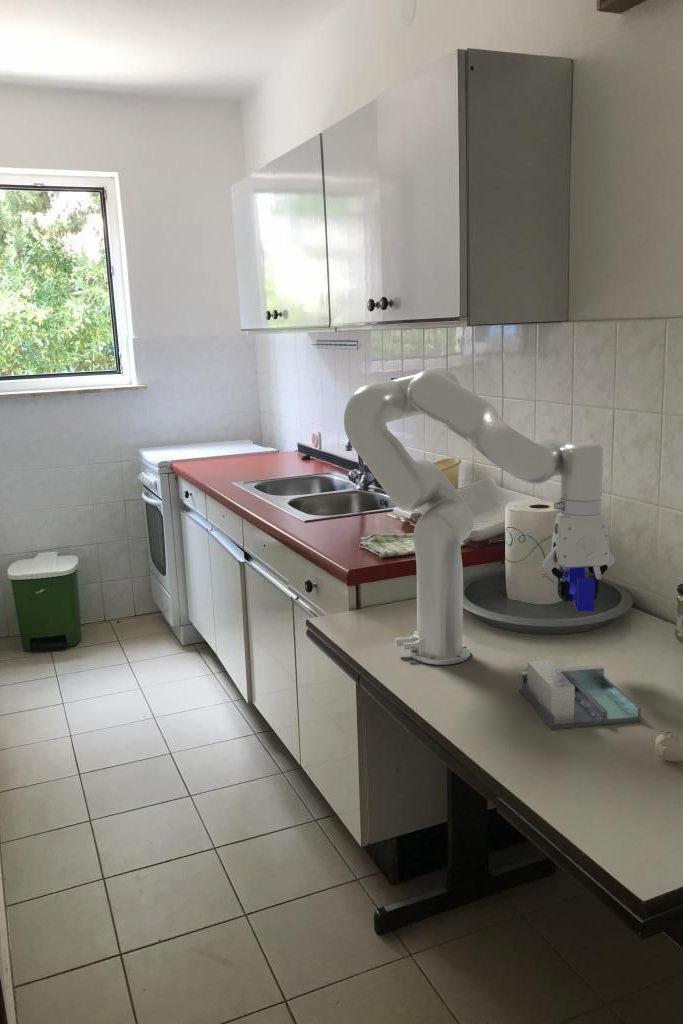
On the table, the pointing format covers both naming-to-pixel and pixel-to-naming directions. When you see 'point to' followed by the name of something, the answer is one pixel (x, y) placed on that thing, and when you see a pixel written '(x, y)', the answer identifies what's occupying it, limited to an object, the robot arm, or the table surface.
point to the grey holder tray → (575, 696)
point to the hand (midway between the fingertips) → (577, 597)
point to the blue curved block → (581, 589)
